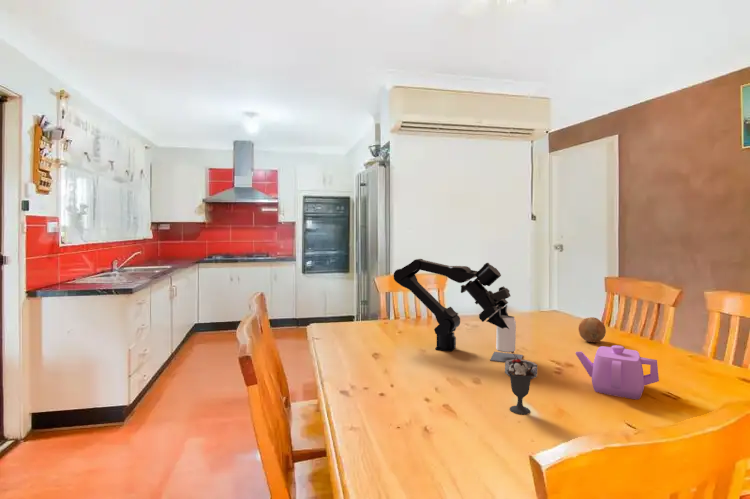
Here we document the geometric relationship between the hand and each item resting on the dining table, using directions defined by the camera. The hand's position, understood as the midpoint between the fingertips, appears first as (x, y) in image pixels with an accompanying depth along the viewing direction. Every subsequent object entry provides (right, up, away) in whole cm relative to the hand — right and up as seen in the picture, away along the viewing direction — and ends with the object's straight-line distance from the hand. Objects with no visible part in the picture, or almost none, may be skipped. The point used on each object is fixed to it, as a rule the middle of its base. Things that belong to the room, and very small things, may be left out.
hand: (510, 328), depth 146 cm
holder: (-1, -12, -14) cm, 18 cm away
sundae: (-11, -14, -40) cm, 44 cm away
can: (-2, -8, 0) cm, 8 cm away
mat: (-1, -11, +1) cm, 11 cm away
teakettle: (+22, -13, -25) cm, 36 cm away
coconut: (+40, -10, +21) cm, 46 cm away
